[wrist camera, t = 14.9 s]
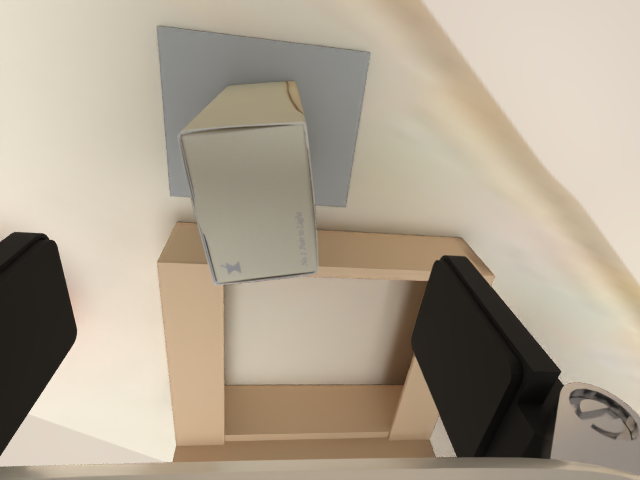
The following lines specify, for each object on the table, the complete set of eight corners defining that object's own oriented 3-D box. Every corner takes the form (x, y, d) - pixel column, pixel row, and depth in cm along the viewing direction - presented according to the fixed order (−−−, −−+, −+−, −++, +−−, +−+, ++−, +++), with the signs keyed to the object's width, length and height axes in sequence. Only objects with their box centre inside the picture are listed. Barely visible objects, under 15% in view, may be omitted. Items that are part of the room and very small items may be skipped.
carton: (461, 237, 30) (559, 349, 20) (410, 392, 39) (459, 526, 28) (176, 221, 27) (116, 344, 17) (189, 393, 36) (153, 545, 25)
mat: (368, 52, 23) (370, 52, 23) (344, 204, 28) (345, 207, 27) (159, 25, 21) (156, 25, 21) (171, 193, 26) (170, 196, 26)
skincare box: (304, 175, 26) (324, 280, 15) (238, 182, 26) (212, 292, 15) (295, 75, 23) (313, 119, 12) (220, 81, 23) (172, 132, 12)
